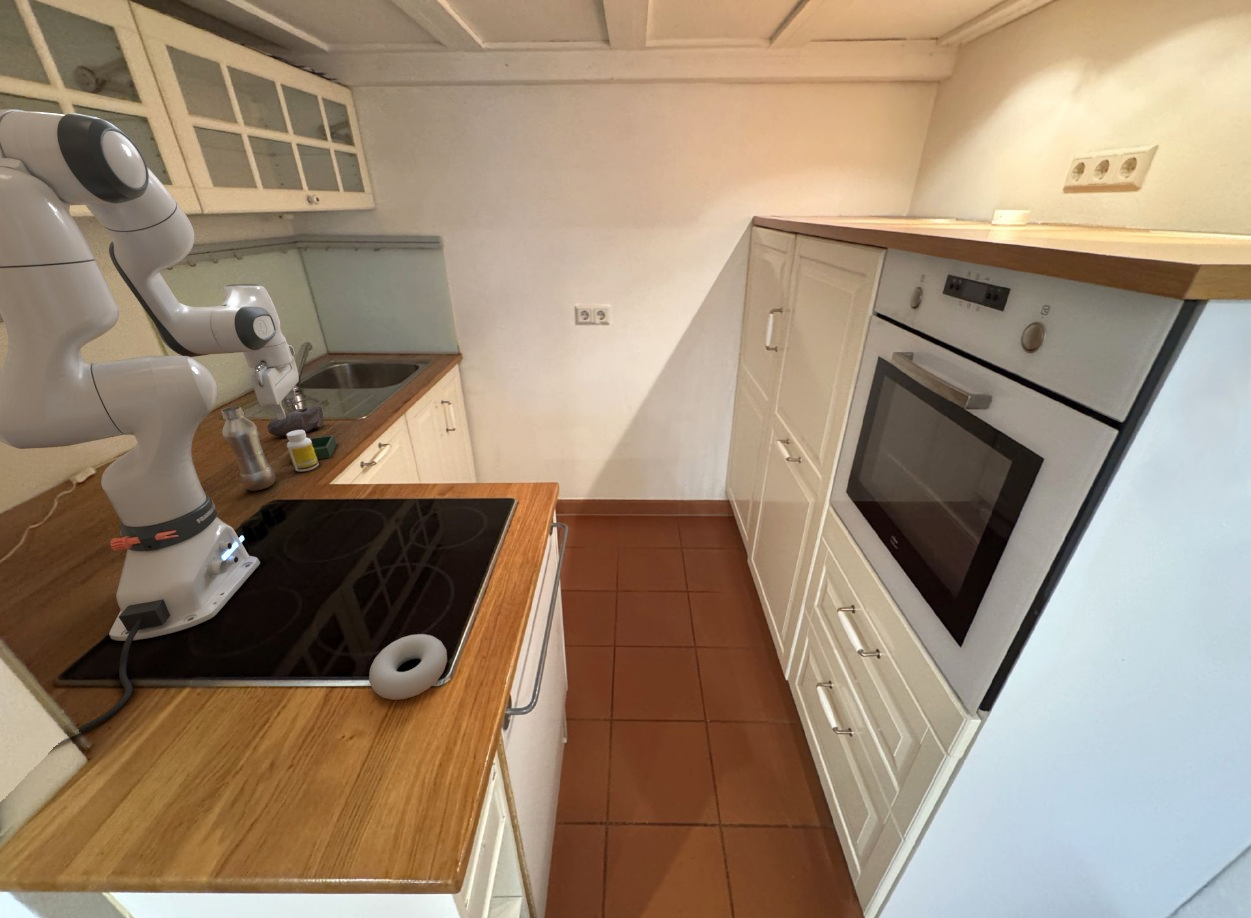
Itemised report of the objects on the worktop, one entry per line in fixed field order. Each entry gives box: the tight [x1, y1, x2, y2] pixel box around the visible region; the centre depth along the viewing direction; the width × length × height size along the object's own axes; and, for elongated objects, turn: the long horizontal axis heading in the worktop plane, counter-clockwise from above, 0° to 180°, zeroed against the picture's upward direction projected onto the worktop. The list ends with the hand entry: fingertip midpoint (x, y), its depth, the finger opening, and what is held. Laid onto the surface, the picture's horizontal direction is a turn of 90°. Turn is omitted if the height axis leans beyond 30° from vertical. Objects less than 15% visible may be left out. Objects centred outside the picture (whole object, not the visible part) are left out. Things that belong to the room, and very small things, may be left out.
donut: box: [368, 633, 448, 701], centre depth 68 cm, size 10×4×10 cm
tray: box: [290, 434, 337, 464], centre depth 136 cm, size 9×9×3 cm
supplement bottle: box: [286, 430, 320, 473], centre depth 127 cm, size 5×5×10 cm
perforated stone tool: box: [267, 405, 324, 437], centre depth 149 cm, size 15×5×7 cm, turn 127°
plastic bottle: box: [220, 405, 276, 492], centre depth 116 cm, size 6×7×20 cm
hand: (287, 411), depth 122 cm, fingers open, 8 cm apart
